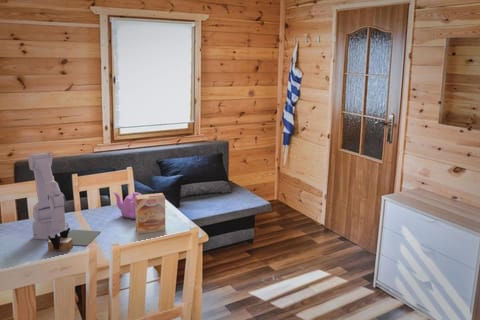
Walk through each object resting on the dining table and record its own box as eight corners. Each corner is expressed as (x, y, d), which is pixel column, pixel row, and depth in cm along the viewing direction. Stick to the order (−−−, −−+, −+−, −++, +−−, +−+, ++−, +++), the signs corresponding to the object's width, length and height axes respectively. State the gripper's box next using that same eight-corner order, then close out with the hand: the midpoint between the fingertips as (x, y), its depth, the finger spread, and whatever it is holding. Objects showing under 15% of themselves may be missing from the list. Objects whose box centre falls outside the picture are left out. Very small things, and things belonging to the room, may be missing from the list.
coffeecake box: (137, 234, 248) (136, 199, 243) (135, 229, 254) (134, 195, 249) (165, 230, 253) (165, 196, 249) (162, 226, 260) (162, 192, 255)
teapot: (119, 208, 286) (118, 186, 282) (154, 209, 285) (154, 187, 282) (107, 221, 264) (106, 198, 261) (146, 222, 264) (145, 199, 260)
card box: (48, 251, 226) (47, 241, 225) (52, 246, 231) (52, 237, 230) (68, 252, 225) (68, 242, 224) (72, 247, 230) (72, 238, 229)
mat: (55, 244, 233) (55, 243, 233) (72, 230, 251) (71, 229, 251) (86, 246, 232) (86, 245, 232) (100, 232, 249) (100, 231, 249)
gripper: (59, 225, 217) (61, 252, 220) (73, 214, 231) (75, 240, 234) (44, 224, 218) (47, 251, 221) (59, 213, 232) (61, 239, 235)
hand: (60, 245), depth 228 cm, fingers open, 7 cm apart
